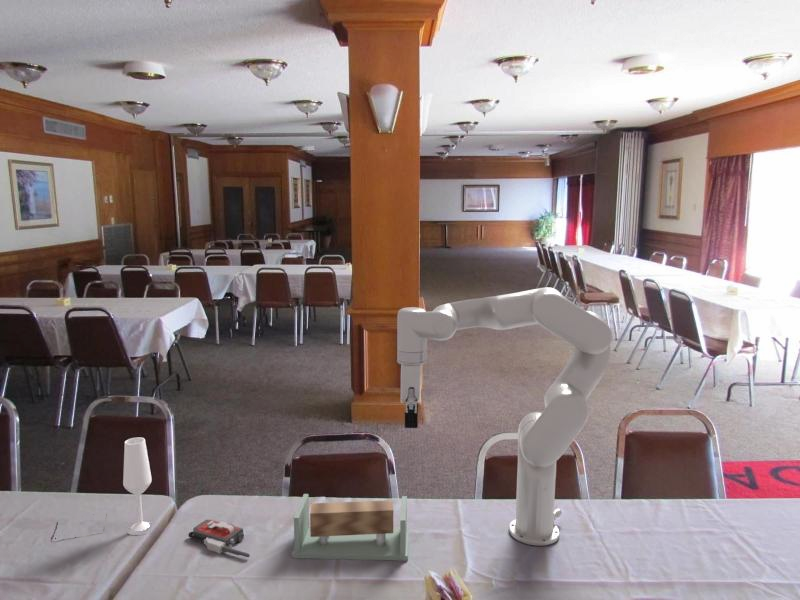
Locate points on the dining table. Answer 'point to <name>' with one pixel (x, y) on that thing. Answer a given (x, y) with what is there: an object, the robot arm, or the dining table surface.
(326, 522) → the wooden block
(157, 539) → the dining table surface
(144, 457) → the champagne flute
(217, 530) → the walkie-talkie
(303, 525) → the shelf rack
